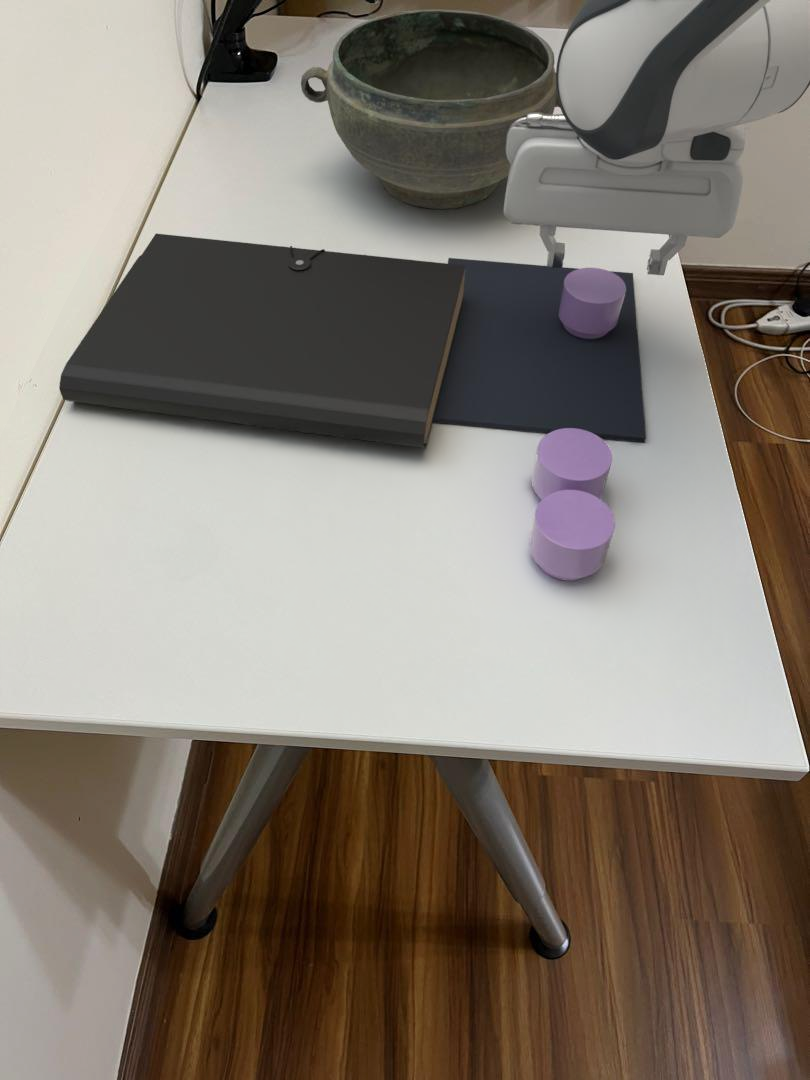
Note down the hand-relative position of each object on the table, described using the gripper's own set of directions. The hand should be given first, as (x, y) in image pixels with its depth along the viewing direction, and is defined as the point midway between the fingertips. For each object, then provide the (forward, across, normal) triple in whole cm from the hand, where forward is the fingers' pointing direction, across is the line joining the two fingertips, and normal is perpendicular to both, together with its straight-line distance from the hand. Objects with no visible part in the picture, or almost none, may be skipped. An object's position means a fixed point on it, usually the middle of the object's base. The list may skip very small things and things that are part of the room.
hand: (604, 268), depth 80 cm
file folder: (+7, -30, -8) cm, 32 cm away
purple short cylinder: (+7, -2, -23) cm, 24 cm away
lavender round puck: (+6, -1, 0) cm, 7 cm away
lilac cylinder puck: (+7, -2, -30) cm, 31 cm away
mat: (+7, -6, -3) cm, 9 cm away
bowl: (+7, -19, +28) cm, 34 cm away
